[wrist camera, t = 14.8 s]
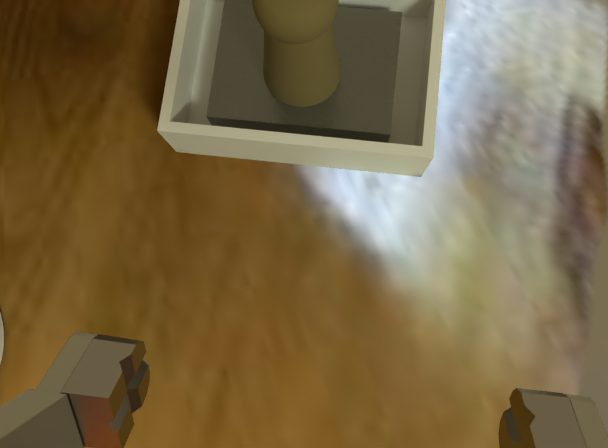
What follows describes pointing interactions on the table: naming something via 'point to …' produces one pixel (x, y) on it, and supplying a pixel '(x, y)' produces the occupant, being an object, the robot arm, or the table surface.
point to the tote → (297, 147)
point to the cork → (299, 49)
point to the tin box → (327, 114)
